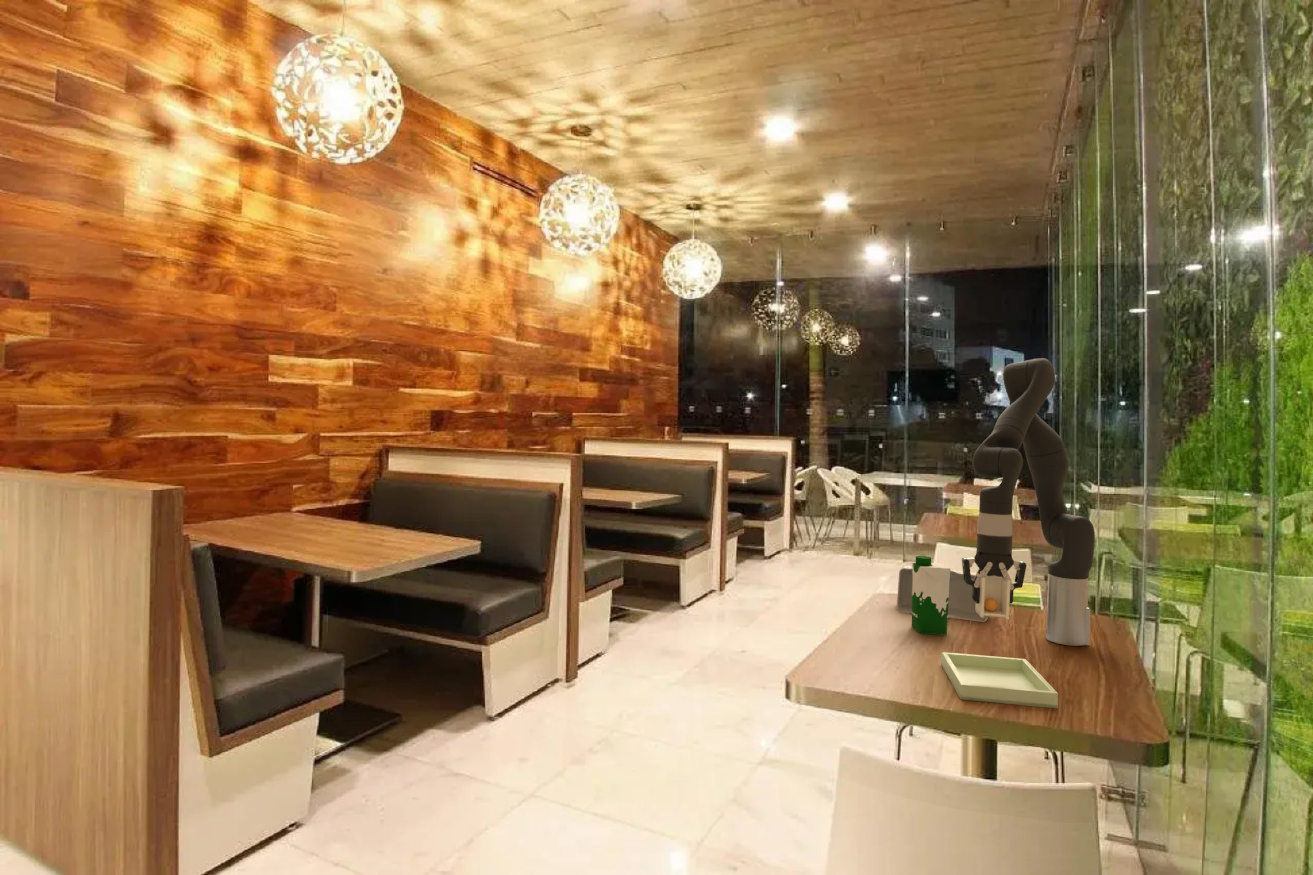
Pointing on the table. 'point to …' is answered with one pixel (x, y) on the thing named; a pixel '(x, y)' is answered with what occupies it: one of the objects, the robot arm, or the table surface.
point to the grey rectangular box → (958, 595)
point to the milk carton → (930, 596)
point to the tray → (998, 680)
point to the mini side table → (994, 596)
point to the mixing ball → (991, 604)
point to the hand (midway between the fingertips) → (992, 603)
